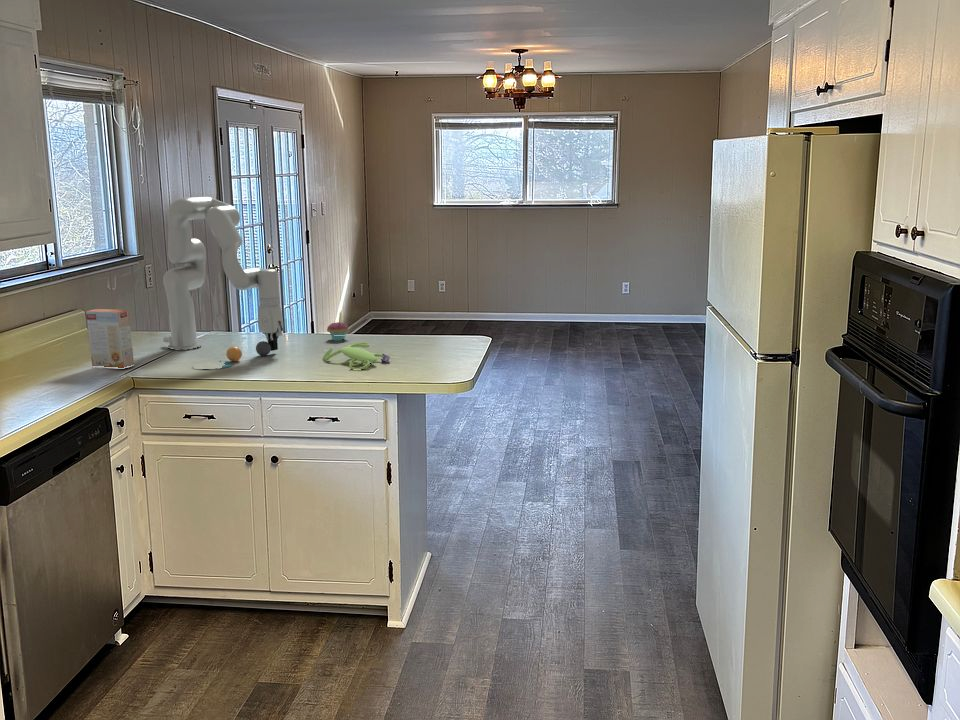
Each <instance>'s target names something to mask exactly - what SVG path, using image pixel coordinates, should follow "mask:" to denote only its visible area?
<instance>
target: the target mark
mask: <svg viewBox="0 0 960 720" xmlns="http://www.w3.org/2000/svg"><path fill="white" fill-rule="evenodd" d="M222 361H223V362H225V363H224V364H225V365H223V366H222V368H223V369H227V368H229V367H232V366H234V363H233V361H230V360H229V361H228V360H222Z"/></svg>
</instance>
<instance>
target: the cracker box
mask: <svg viewBox="0 0 960 720" xmlns="http://www.w3.org/2000/svg"><path fill="white" fill-rule="evenodd" d="M85 313H86V323H87V330H88V339H89V348H90V358H91V366H104V367H118V368H124V367H127V366H131V365H133V364H134V365H135V360H134V351H133V350H134V349H133V341H132V331H131V323H130V322H131V321H130V313H129V310H128V309H111V308H109V309H108V308H107V309H105V308H104V309H103V308H94V309H90V310H86V311H85Z"/></svg>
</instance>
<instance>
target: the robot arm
mask: <svg viewBox="0 0 960 720" xmlns="http://www.w3.org/2000/svg"><path fill="white" fill-rule="evenodd" d="M204 219H205V221H206V223H207V226H208V228H209V229H210V231H211V233H212V234H213V237H214V239H215V240H216V242H217V243H218V245H219V247H220V249H221V264H222V270H223V272H224V274H225V275H226V277H227V280H229V283H230V284H231V285H232V286H233V288H235V289H236V290H238V291H247V290H250V289H256V288H258V298H259V299H258V300H259V305H258V309H257V321H258V322H257V323H258V326H257V327H258V330H259V332H262V334H263V335H265V338H266V340H267V342H268V343H269V344H270V346H271V351H270V352H272V351H277V350H278V349H279V348H278V347H279V346H278V343H279V342H278V340H279V337H281V336H283V333H282V332H283V331H284V319H283V313H282V308H281V297H280V286H279V285H280V283H279V272H278V270H277V269H274V268H261V267H249V268H243V267H242V265H241V263H240V261H239V258H238V250H239V248H240V247H241V245H242V244H243V241H244V240H243V238H242V236H241V235H240V233H239V231H238V229H237V228H236V227H237V226H238V225H239V223H240V221H241V214H240V211H238V209H237V208H236V207H235V206H233V205H232V204H229V203H227V202H224V201H220V200H218V199H216V198H214V197H210V196H189V197H181V198H177V199H175V200H174V201H173V202H171V204H170V205H169V207H168V210H167V222H168V224H167V225H168V233H167V236H168V237H167V257H168V260H169V261H170V263H172V264H173V265H183V266H178V267H173V268H171V269H168V270H167V271H166V272H165V273H164V275H163V279H162V282H163V283H162V284H163V287H164V290H165V294H166V299H167V307H168V316H169V325H170V326H169V327H170V336H164V337H163V340H162V342H163V343H169V344H168V345H167V348H168V347H169V348H173V349H190V350H193V349H192V348H196V349H198V348H197V347H199V348H201V347H202V342H200V341H198V336H197V327H196V316H195V313H196V312H195V306H194V299H193V297H192V295H191V293H190V291H193V290H196V289H199V288H201V287H202V286H203V285H204V283H205V280H206V265H207V264H206V263H207V252H206V251H207V250H206V247H205V245H204V243H203V242H202V240H200V239H198V238H195V237H192V235H193V233H192V232H193V229H192V227H191V226H192V225H191V223H190V222H189V221H195V220H204ZM200 346H201V347H200Z"/></svg>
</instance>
